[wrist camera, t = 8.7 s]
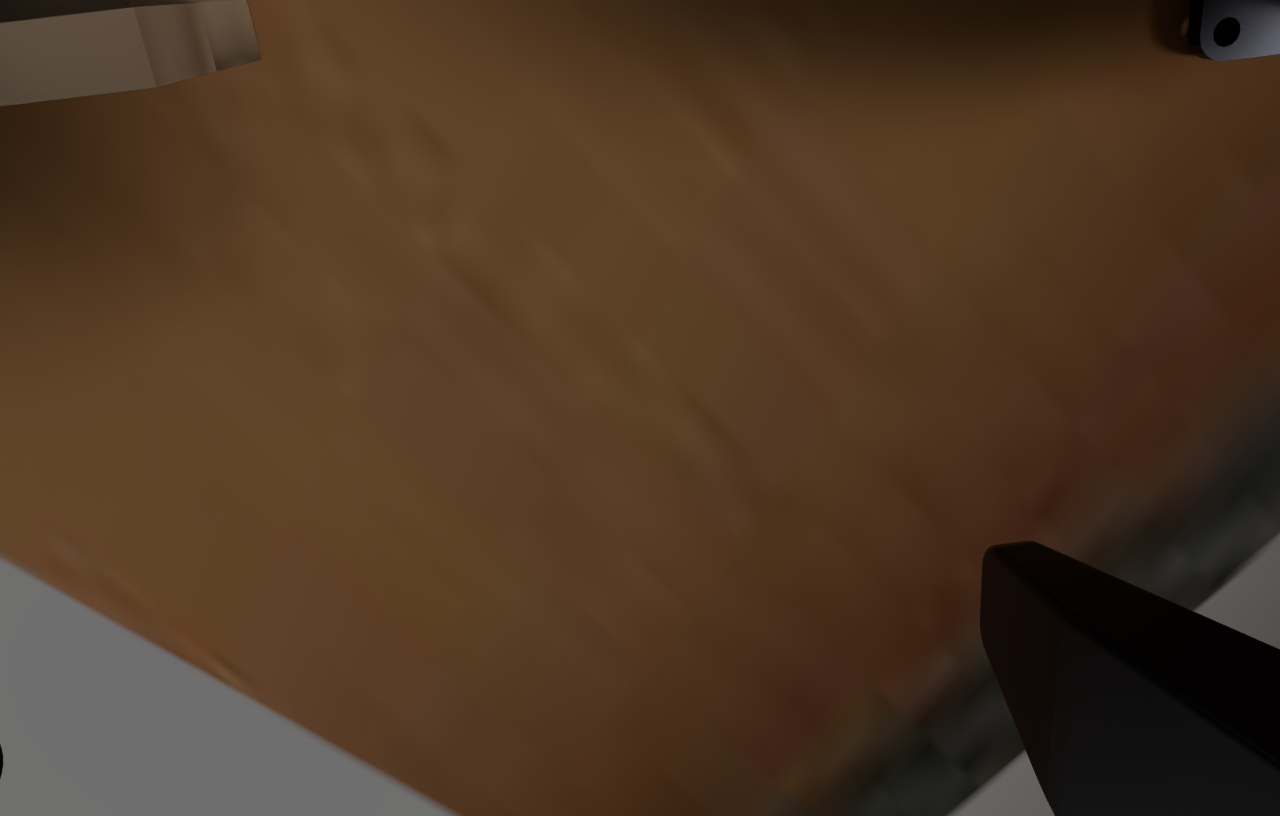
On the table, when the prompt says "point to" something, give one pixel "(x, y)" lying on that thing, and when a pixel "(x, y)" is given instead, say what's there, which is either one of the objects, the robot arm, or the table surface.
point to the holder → (116, 45)
